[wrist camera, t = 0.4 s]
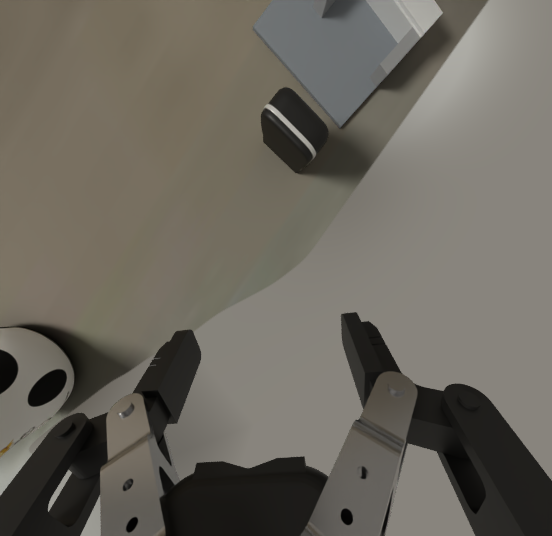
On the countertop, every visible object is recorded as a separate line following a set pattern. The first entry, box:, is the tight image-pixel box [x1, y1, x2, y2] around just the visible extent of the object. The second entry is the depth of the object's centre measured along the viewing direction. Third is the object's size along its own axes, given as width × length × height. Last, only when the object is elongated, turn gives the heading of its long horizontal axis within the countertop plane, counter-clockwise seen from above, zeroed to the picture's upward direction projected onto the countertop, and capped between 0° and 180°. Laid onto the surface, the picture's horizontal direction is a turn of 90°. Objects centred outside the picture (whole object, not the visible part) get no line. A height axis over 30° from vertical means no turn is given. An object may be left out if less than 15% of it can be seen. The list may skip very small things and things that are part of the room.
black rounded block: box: [261, 87, 328, 173], centre depth 27 cm, size 7×4×11 cm, turn 49°
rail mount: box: [253, 0, 443, 128], centre depth 28 cm, size 16×14×4 cm
